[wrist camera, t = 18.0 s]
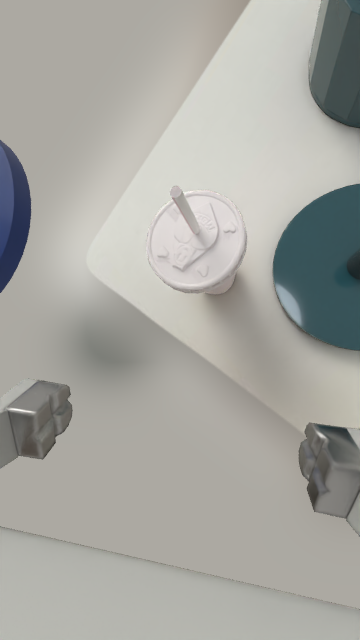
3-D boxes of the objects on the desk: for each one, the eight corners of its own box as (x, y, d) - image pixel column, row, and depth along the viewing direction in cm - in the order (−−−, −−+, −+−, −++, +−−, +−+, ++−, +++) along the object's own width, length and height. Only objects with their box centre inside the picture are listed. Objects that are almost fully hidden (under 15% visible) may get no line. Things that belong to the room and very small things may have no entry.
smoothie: (262, 258, 24) (271, 154, 10) (230, 319, 24) (200, 297, 11) (201, 234, 26) (143, 119, 12) (173, 291, 26) (86, 243, 13)
